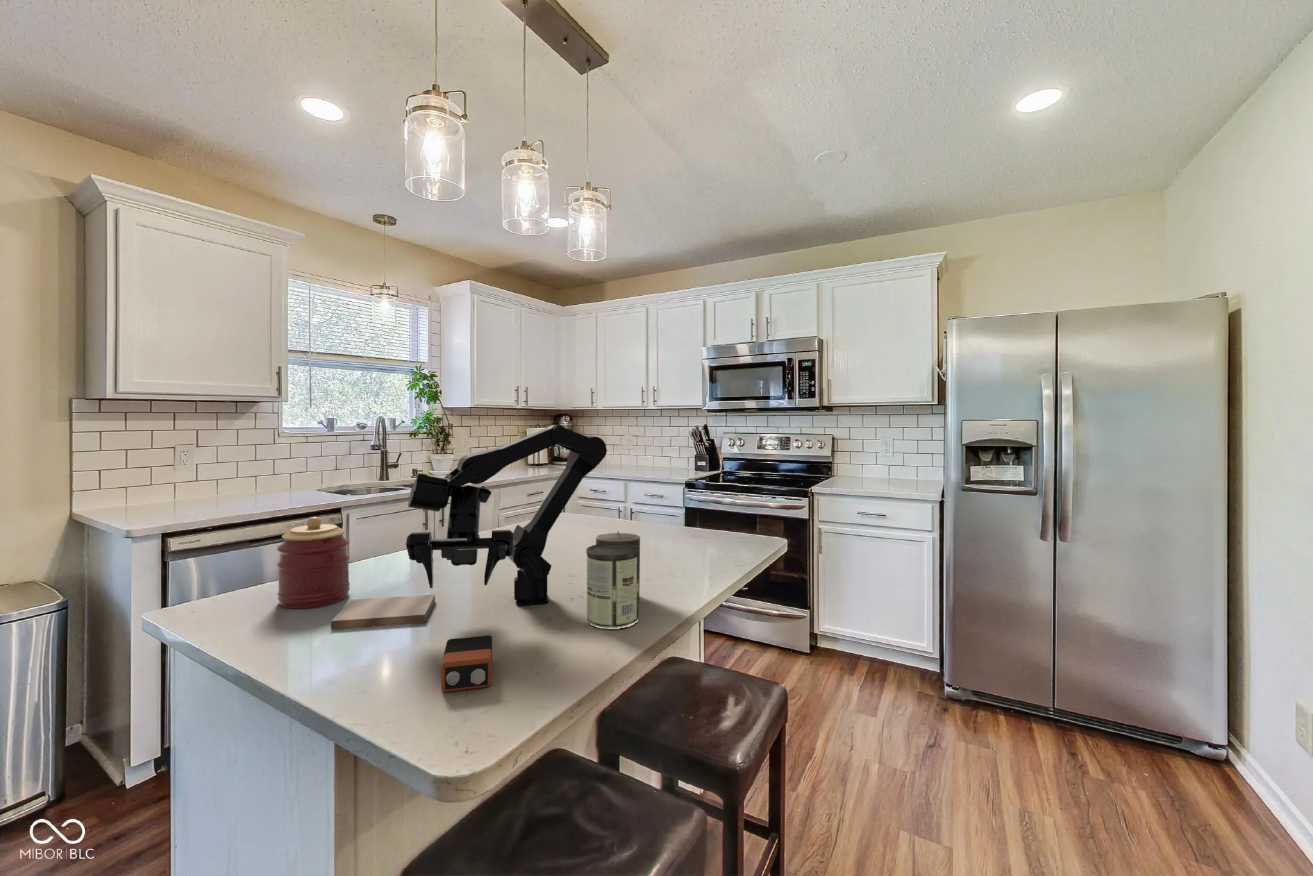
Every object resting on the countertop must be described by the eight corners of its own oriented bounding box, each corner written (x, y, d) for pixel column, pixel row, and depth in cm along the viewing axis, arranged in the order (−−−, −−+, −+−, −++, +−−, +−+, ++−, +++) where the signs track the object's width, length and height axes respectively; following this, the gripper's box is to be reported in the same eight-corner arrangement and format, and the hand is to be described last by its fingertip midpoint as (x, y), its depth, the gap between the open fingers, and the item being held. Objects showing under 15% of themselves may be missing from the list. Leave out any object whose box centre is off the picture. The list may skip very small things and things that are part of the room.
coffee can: (602, 607, 112) (603, 540, 112) (647, 615, 108) (648, 545, 107) (575, 625, 103) (575, 551, 102) (623, 634, 99) (624, 557, 98)
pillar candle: (629, 609, 111) (631, 536, 111) (586, 603, 115) (588, 532, 114) (645, 595, 121) (647, 528, 120) (605, 590, 124) (606, 525, 123)
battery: (492, 660, 87) (491, 690, 78) (447, 665, 85) (440, 697, 76) (492, 633, 87) (491, 660, 77) (447, 638, 85) (440, 666, 76)
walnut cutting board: (435, 601, 115) (435, 594, 114) (424, 622, 103) (424, 614, 103) (351, 607, 111) (351, 599, 111) (331, 629, 99) (330, 621, 99)
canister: (361, 589, 122) (360, 511, 122) (328, 610, 109) (327, 523, 109) (302, 589, 122) (301, 511, 121) (262, 610, 109) (261, 522, 108)
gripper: (513, 534, 115) (512, 603, 105) (418, 537, 111) (407, 609, 100) (513, 503, 107) (512, 574, 97) (411, 505, 103) (399, 580, 92)
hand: (458, 585), depth 97 cm, fingers open, 9 cm apart
